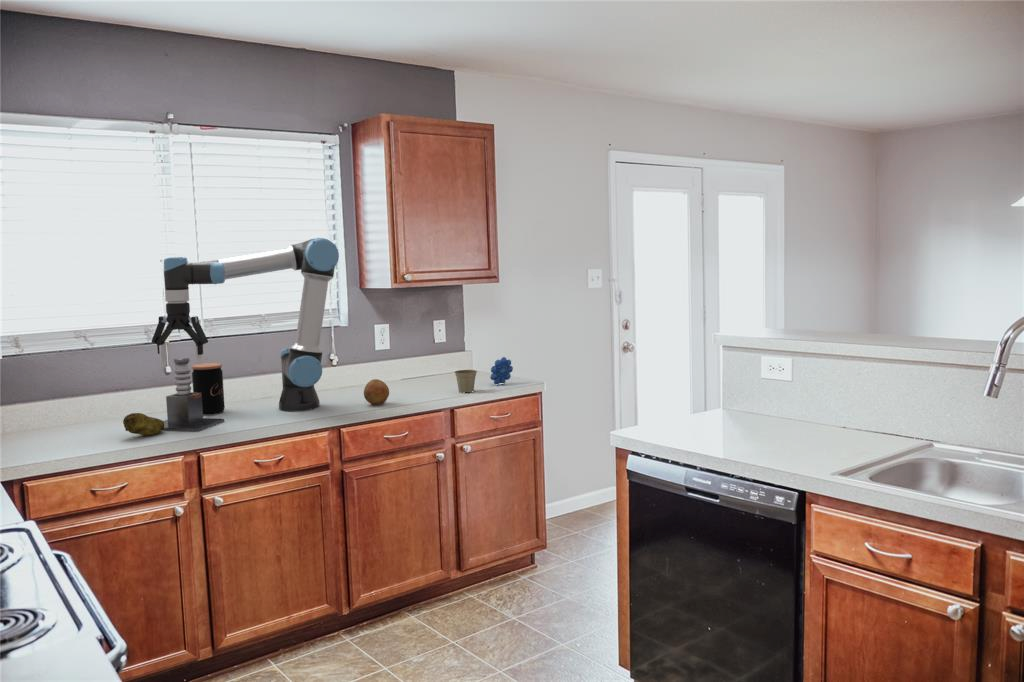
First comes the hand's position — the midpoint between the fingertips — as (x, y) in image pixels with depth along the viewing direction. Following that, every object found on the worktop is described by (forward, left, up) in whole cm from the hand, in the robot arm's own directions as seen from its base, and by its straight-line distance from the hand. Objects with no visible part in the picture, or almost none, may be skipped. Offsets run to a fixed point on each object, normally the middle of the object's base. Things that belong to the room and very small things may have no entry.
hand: (181, 363), depth 279 cm
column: (0, 0, -20) cm, 20 cm away
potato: (+4, +15, -22) cm, 27 cm away
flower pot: (-80, -75, -22) cm, 112 cm away
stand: (0, 0, -22) cm, 22 cm away
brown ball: (-53, -44, -22) cm, 73 cm away
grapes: (-90, -95, -22) cm, 133 cm away
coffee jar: (+5, -22, -22) cm, 32 cm away
